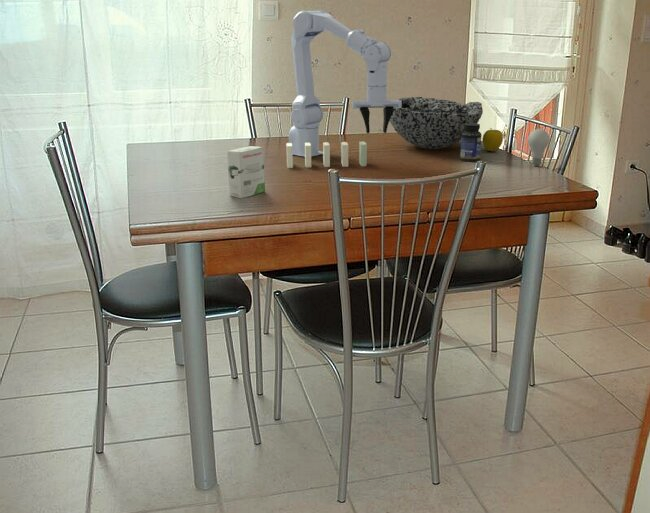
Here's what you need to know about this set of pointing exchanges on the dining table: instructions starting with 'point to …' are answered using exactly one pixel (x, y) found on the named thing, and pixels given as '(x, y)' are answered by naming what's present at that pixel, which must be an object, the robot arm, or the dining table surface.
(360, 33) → the robot arm
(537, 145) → the lightbulb
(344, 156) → the tile
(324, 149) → the tile
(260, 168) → the ink box
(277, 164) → the dining table surface
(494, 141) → the apple
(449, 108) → the bowl
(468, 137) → the pill bottle
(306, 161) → the tile
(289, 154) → the tile
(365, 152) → the tile
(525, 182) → the dining table surface
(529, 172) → the dining table surface
